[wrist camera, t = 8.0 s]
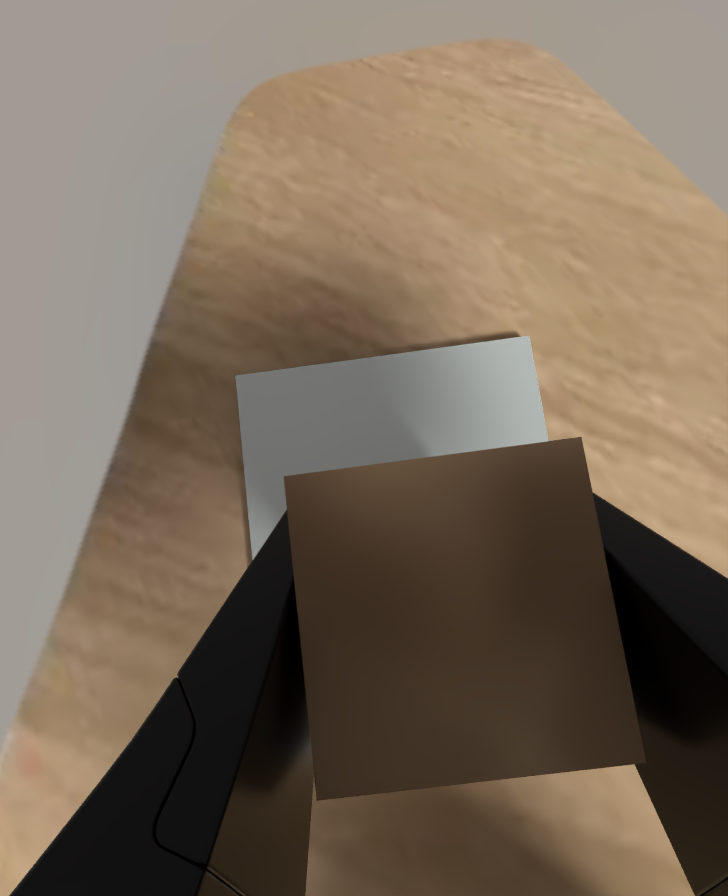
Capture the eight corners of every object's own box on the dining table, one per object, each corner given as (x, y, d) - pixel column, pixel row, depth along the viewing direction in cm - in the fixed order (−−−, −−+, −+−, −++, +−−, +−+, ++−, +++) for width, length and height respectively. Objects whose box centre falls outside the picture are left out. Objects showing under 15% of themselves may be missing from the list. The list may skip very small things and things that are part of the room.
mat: (596, 733, 16) (604, 741, 15) (276, 771, 16) (272, 780, 15) (525, 340, 18) (529, 335, 17) (239, 379, 18) (235, 375, 17)
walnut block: (485, 610, 14) (645, 763, 6) (357, 625, 15) (317, 800, 6) (464, 482, 15) (581, 436, 6) (342, 498, 15) (283, 476, 6)
